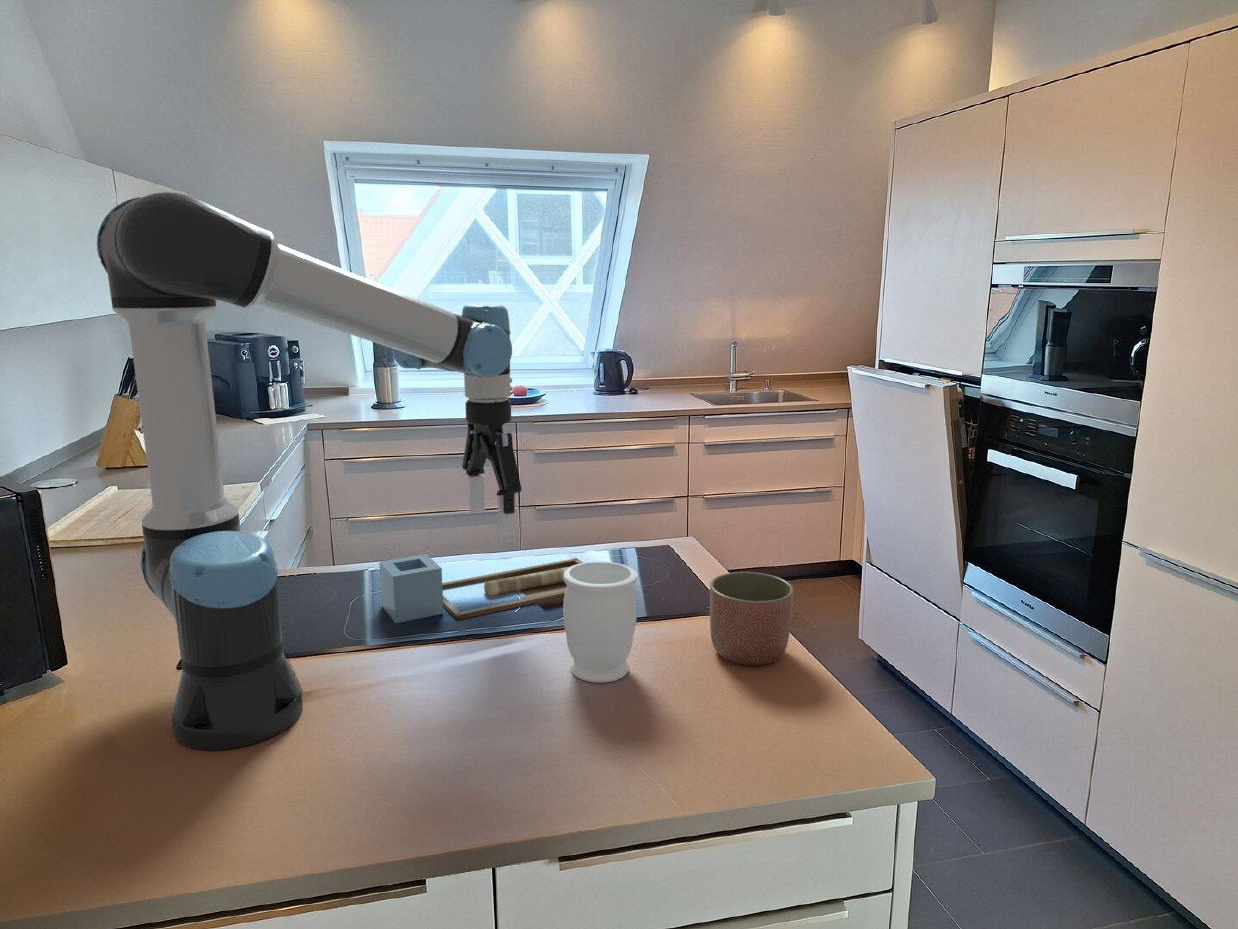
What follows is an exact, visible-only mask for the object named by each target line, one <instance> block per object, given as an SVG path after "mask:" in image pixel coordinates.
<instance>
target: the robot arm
mask: <svg viewBox="0 0 1238 929" xmlns="http://www.w3.org/2000/svg"><path fill="white" fill-rule="evenodd" d="M96 248H97V249H96V251H97V254H98V255H97V256H98V258H99V259H100V263H101V265H102V267H103V269H104V270H105V272H106V273H107V279H108V286H109V293H110V299H111V306H112V307H111V308H112V311H113V312H115V313H116V314H117V315H118V316H120V317H121V318H123V320H125V321H126V323H127V324H128V326H129V327H128V328H129V336H130V343H131V351H132V358H133V366H134V372H135V374H134V375H135V380H136V389H137V397H138V403H139V412H140V420H141V425H142V433H143V434H142V435H143V442H144V449H145V458H146V464H147V472H148V479H149V488H150V495H151V496H150V497H151V502H152V507H151V508H150V510H148V512H147V513H145V515H144V516H143V517H142V519H141V528H142V533H143V534H142V536H143V543H144V544H143V547H142V549H141V554H140V569H141V573H142V576H143V580H144V582H145V584H146V585H147V587H148V589H149V590H150V591H151V592H152V593H153V594H154V595H155V596H156V597H157V598H158V599H159V601H161V602H162V604H163V605H164V606H165V607H166V608H167V609H168V612H170V613H171V615H172V616H173V618H174V621H175V624H176V629H177V630H176V631H177V638H178V648H179V654H180V655H179V657H180V662H181V664H180V665H181V676H180V680H179V684H178V688H177V692H176V695H175V696H176V697H175V700H174V704H173V707H172V712H171V724H172V725H171V726H172V732H173V736H174V738H175V740H176V741H177V742H179V743H180V744H182V745H184V746H186V747H188V748H193V749H197V750H204V751H205V750H206V751H208V750H209V751H218V750H228V749H235V748H237V749H238V748H239V747H241V748H242V747H245V746H250V745H253V744H257V743H259V742H262V741H265V740H267V739H270V738H271V737H274V736H276V735H277V734H279V733H282V732H283V731H285V730H286V729H288V728H289V727H291V726H292V725H293V724H294V723H295V722H296V721H297V720H298V719H299V717H300V716H301V714H302V712H303V708H304V707H303V696H302V689H301V687H300V684H299V683H298V680H297V678H296V677H295V676H296V675H295V674H294V672H293V670H292V668H291V666H290V664H289V662H288V660H287V658H286V655H285V652H284V648H283V646H284V645H283V635H282V634H283V633H282V623H281V622H282V620H281V612H280V611H281V609H280V600H279V599H280V598H279V597H280V596H279V588H278V585H279V584H278V574H279V570H278V569H279V568H278V567H277V566H278V565H277V561H276V558H275V554H274V550H273V548H272V546H271V545H270V543H269V542H268V541H267V540H266V539H264V538H263V537H261V536H259V535H256V534H254V533H251V532H246V533H243V532H242V531H241V524H240V515H239V508H238V507H237V506H236V505H234V504H232V503H231V502H230V501H228V500H227V499H226V498H225V490H224V483H223V482H224V480H223V472H222V471H223V470H222V462H221V454H220V446H219V436H218V427H217V417H216V410H215V408H216V407H215V400H214V390H213V389H214V388H213V381H212V372H211V371H212V370H211V365H210V354H209V346H208V345H209V344H208V337H207V336H208V335H207V327H206V322H207V320H208V318H209V317H210V316H211V315H212V314H213V313H214V312H215V311H216V310H217V301H221V302H224V303H228V304H232V305H234V306H235V305H236V306H238V307H241V308H245V309H247V308H250V307H253V306H254V305H261V306H265V307H266V308H271V309H273V310H276V311H279V312H282V313H285V314H288V315H291V316H293V317H296V318H300V319H303V320H306V321H309V322H312V323H314V324H319V325H321V326H323V327H327V328H330V329H332V330H336V331H339V332H342V333H346V334H348V335H351V336H354V337H357V338H360V339H363V340H367V341H369V342H372V343H374V344H378V345H381V346H384V347H388V348H390V349H391V352H392V355H393V358H394V360H395V362H396V364H397V365H399V367H401V368H402V369H405V370H406V369H417V370H421V369H429V368H431V369H438V370H442V371H450V372H455V373H456V372H457V373H461V374H463V376H464V377H463V378H464V379H463V380H464V382H463V384H464V396H465V398H467V400H466V401H465V420H466V422H467V436H466V441H465V448H464V452H463V460H462V469H463V471H465V473H466V475H467V476H468V477H467V484H468V485H467V486H468V490H467V491H468V492H467V493H468V513H471V514H473V513H478V512H485V511H486V510H485V509H486V504H485V503H486V502H485V475H484V474H486V471H485V468H484V466H485V464H486V461H487V460H488V461H490V463H491V465H492V469H493V470H492V471H493V472H494V476H495V479H496V483H497V485H498V489H499V490H497V492H496V497H497V510H498V511H497V512H498V514H497V516H498V517H497V518H498V533H500V534H502V533H504V534H505V533H510V532H514V531H516V530H517V529H516V528H517V526H516V494H517V493H521V492H522V486H521V479H520V475H519V471H518V465H517V462H516V461H517V460H516V456H515V451H514V447H513V434H512V432H505V433H504V430H503V425H504V424H507V423H510V422H511V420H512V402H511V401H510V399H508V398H509V397H510V396H511V384H512V383H513V378H512V377H511V359H512V355H513V345H512V341H511V336H510V335H511V329H510V327H511V326H510V319H509V318H510V317H509V312H508V309H507V308H506V307H505V306H504V305H502V304H501V305H500V304H466V305H464V306H463V307H462V312H461V315H460V314H456V313H454V312H451V311H450V310H447V309H444V308H442V307H439V306H436V305H434V304H432V303H429V302H427V301H424V300H422V299H419V298H416V297H414V296H411V295H408V294H407V293H403V292H402V291H399V290H396V289H394V288H391V287H389V286H385V285H383V284H381V283H378V282H375V281H374V280H371V279H368V278H366V277H363V276H360V275H358V274H355V273H353V272H350V271H348V270H345V269H342V268H340V267H338V266H335V265H332V264H330V263H328V262H326V261H322V260H320V259H317V258H314V257H312V256H310V255H307V254H306V253H302V252H299V251H297V250H294V249H292V248H289V247H287V246H285V245H282V244H280V243H277V241H276V239H275V237H274V235H273V233H272V232H271V231H269V230H267V229H264V228H262V227H259V226H257V225H255V224H252V223H250V222H248V221H246V220H243V219H241V218H239V217H237V216H235V215H233V214H230V213H228V212H226V211H224V210H222V209H219V208H217V207H216V206H213V205H211V204H209V203H207V202H205V201H202V200H200V199H198V198H196V197H192V196H189V195H186V194H182V193H179V192H169V191H163V192H155V193H151V194H148V195H145V196H142V197H138V196H137V197H134V198H130V199H128V200H125V201H122V202H121V203H119V204H118V205H116V206H114V207H113V208H112V209H111V210H110V211H109V212H108V213H107V214H106V216H104V218H103V221H101V224H100V227H99V229H98V232H97V235H96ZM216 300H217V301H216Z"/></svg>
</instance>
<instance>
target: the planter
mask: <svg viewBox="0 0 1238 929" xmlns="http://www.w3.org/2000/svg"><path fill="white" fill-rule="evenodd" d="M794 591H795V590H794V587H793V585H792V584H791V583H790V582H788V581H787V580H785V579H783V578H781V577H779V576H776V575H771V574H769V573H762V572H754V571H753V572H752V571H738V572H737V571H736V572H734V571H733V572H729V573H724V574H720V575H718V576H715V577H714V578H713V579H712V580H711V581H710V583H709V623H710V624H709V625H710V626H709V628H710V637H711V642H712V645H713V648H714V649H715V651H716V652H717V654H719V655H720V656H721V657H722V658H724V659H726V660H728V661H729V662H733V663H737V664H740V665H745V666H747V665H748V666H762V665H766V664H770V663H774V662H775V661H777V660H778V659H780V658H781V657H783V655H784V653H785V652H786V649H787V646H788V643H789V638H790V632H791V631H790V630H791V625H792V624H791V622H792V614H793V604H794V593H795V592H794Z"/></svg>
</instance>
